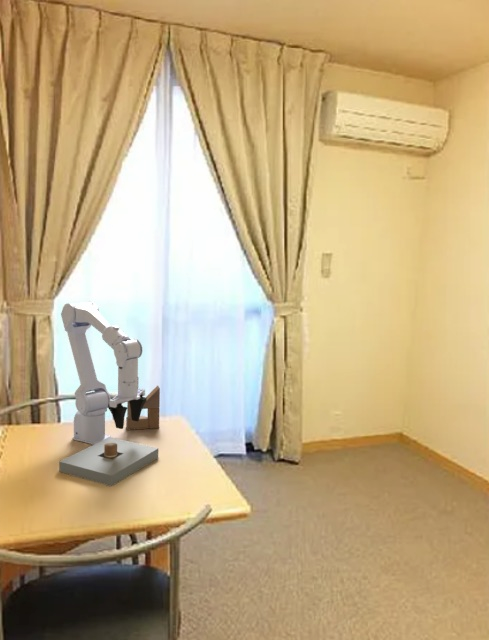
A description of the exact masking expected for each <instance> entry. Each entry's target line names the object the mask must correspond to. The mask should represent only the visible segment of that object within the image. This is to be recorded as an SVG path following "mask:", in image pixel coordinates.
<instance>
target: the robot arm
mask: <svg viewBox="0 0 489 640" xmlns="http://www.w3.org/2000/svg"><path fill="white" fill-rule="evenodd" d="M60 316H61V320H62V323H63V327H64V331H65V332H66V333H67V336H68V337H67V338H68V340H69V345H70V349H71V353H72V356H73V360H74V364H75V368H76V371H77V375H78V380H79V383H80V385H79V386H78V387H77V389H76V390H75V392H74V395H75V408H76V410H77V412H76V413H75V415H74V417H73V437H71V439H72V440H74V441H78V442H82V443H86V444H91V445H94V444H96V443H98V442H100V441H102V440H104V439H106V438H108V437H112V436H111V435H110V434H106V412H108V410H109V411H110V413H111V415H112V418H113V421H114V424H115V428H116V429H120V430H122V429H124V425H125V417H126V413H127V407H126V406H123V405H122V404H125V403H127V401H129V403H130V407H131V418H132V420H133V421H139V418H140V416H141V413H142V410H143V409H142V408H143V406H144V404H145V402H146V397H147V396H146V389H144V388H139V376H138V375H139V359H140V357H142V355H143V345H142V343H141V342H140V341H139V339H137V338H132V337H129V335H127V334H126V333H125V332H124V331H122V329H121V328H120V327H119V326H118V325H115V324H113V325H111V324H110V323H109V322H108V321H107V320H106V319H105V318H104V316H103V315H102V314H101V313H100V310H99V306H98V305H97V304H96V303H95V302H94V301H90V300H89V301H86V302H73V303H69V302H68V303H66V304H64V305H63V306H62V310H61V313H60ZM91 327H93V328H94V329H96V331H98V332H99V333H100V334H101V338H102V340H103V342H105V343H106V344H107V345H108V346H109V347H110V348H111V349H112V350H113V355H114V357H115V360H116V362H115V364H116V366H117V394H116V395H115V396H114V397H113V398H111V395H110V392H109V391H108V389H107V387H106V384H105V383H103V382H101V381H99V380H98V378H97V374H96V370H95V365H94V363H93V359H92V355H91V352H90V351H91V350H90V347H89V343H88V339H87V336H86V335H87V334H86V332H87V330H89V329H90V328H91ZM144 396H145V397H144Z"/></svg>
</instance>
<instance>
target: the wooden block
mask: <svg viewBox="0 0 489 640" xmlns="http://www.w3.org/2000/svg"><path fill="white" fill-rule="evenodd" d="M160 393H161V389H160V386H159V385H156V387H154V389H152V390H151V391H150V393H149V394H147V395H146V396H145V397H146V402H145V404H144V406H143V408H142V410H144V409H146V410H147V416H145V415H140V418H139V421H133V420H132V418H131V407H130V403H129V401H127V402H126V404H127V410H126V413H127V415H126V416H125V417H126V421H125V422H126V423H125V424H126V425H125V426H126V429H127V431H130V430H133V431H134V430H144V429H150V430H151V429H159V428H160V406H161V405H160V401H161V400H160V399H161V398H160V397H161V395H160Z"/></svg>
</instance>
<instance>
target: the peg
mask: <svg viewBox="0 0 489 640" xmlns="http://www.w3.org/2000/svg"><path fill="white" fill-rule="evenodd" d="M116 457H117V444H116V443H106V444H105V445H104V458H108V459H114V458H116Z"/></svg>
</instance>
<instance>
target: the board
mask: <svg viewBox="0 0 489 640" xmlns="http://www.w3.org/2000/svg"><path fill="white" fill-rule="evenodd" d="M106 443H116V444H117V457H116V458H114V459H108V458H104V445H105V444H106ZM157 459H159V448H158V447H154V446H151V445H146V444H142V443H141V444H140V443H138V442H132V441H130V440H129V441H128V440H125V439H120V438H116V437H112V436H111V437H108V438H106V439H104V440H102V441H100V442H98V443H96V444H91V445H90V446H88V447H86V448H84V449H82V450H80V451H78V452H76V453H74V454H72V455H70V456H68V457H65V458H64V459H62V460H60V461H59V464H58V467H59V470H58V471H59V472H60V473H64V474H66V475H69V474H70V475H69V476H74V477H77V478H81V479H85V480H87V481H88V480H89V481H91V482H94V483H98V484H103V485H106V486H109V487H112V486H114V485H116V484H117V483H119V482H122V481H123V480H125V479H126V478H128V477H129V476H131V475H132V474H134V473H136V472H138V471H139V470H141V469H142V468H144V467H146V466H148V465H149V464H151V463H153V462H154V461H155V460H157Z"/></svg>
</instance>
